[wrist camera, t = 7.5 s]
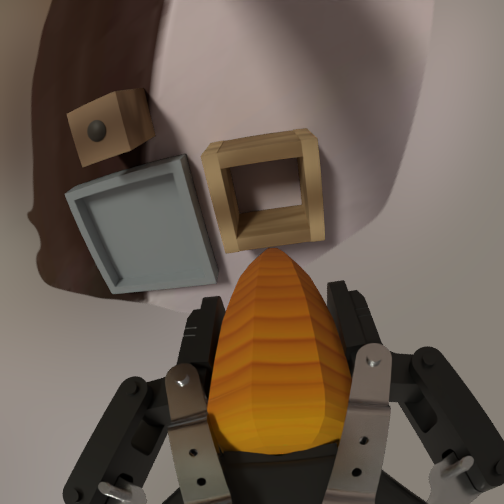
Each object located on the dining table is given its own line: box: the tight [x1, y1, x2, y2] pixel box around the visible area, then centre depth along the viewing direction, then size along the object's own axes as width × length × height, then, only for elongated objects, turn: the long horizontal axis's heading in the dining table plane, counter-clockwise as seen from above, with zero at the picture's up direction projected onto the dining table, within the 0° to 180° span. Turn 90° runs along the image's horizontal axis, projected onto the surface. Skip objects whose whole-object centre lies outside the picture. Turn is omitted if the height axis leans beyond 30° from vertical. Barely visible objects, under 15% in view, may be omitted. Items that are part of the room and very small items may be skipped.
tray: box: [65, 154, 219, 294], centre depth 29 cm, size 14×14×2 cm
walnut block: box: [67, 88, 156, 167], centre depth 20 cm, size 5×5×6 cm
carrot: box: [207, 248, 352, 456], centre depth 10 cm, size 5×5×15 cm
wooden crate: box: [201, 128, 325, 253], centre depth 24 cm, size 9×9×5 cm
